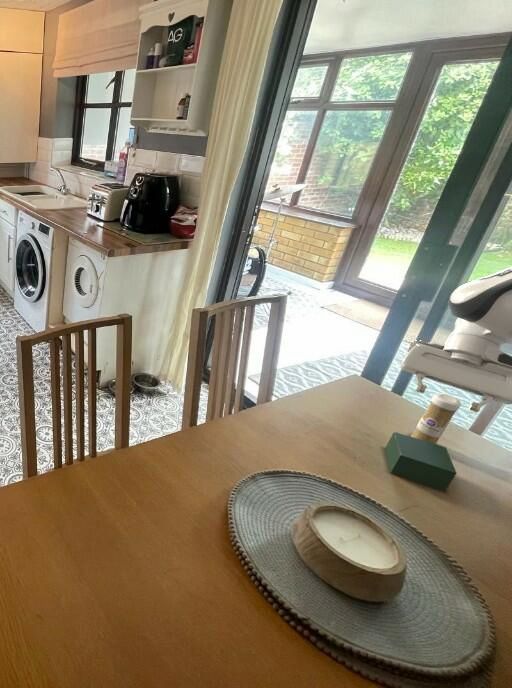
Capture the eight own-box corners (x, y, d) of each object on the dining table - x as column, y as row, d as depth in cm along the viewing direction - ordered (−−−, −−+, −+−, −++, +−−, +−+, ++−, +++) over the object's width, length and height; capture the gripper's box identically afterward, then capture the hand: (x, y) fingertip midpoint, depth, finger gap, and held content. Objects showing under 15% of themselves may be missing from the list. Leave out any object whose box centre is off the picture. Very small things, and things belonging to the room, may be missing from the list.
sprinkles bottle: (408, 440, 103) (433, 397, 97) (412, 432, 105) (436, 390, 99) (433, 451, 99) (460, 407, 94) (437, 442, 102) (463, 399, 96)
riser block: (434, 464, 95) (445, 447, 93) (444, 491, 89) (456, 473, 86) (384, 448, 100) (394, 431, 98) (390, 473, 93) (400, 455, 91)
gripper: (414, 332, 107) (392, 377, 105) (536, 366, 93) (512, 419, 91) (410, 341, 111) (388, 385, 110) (525, 375, 97) (502, 425, 96)
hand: (445, 401), depth 100 cm, fingers open, 8 cm apart
